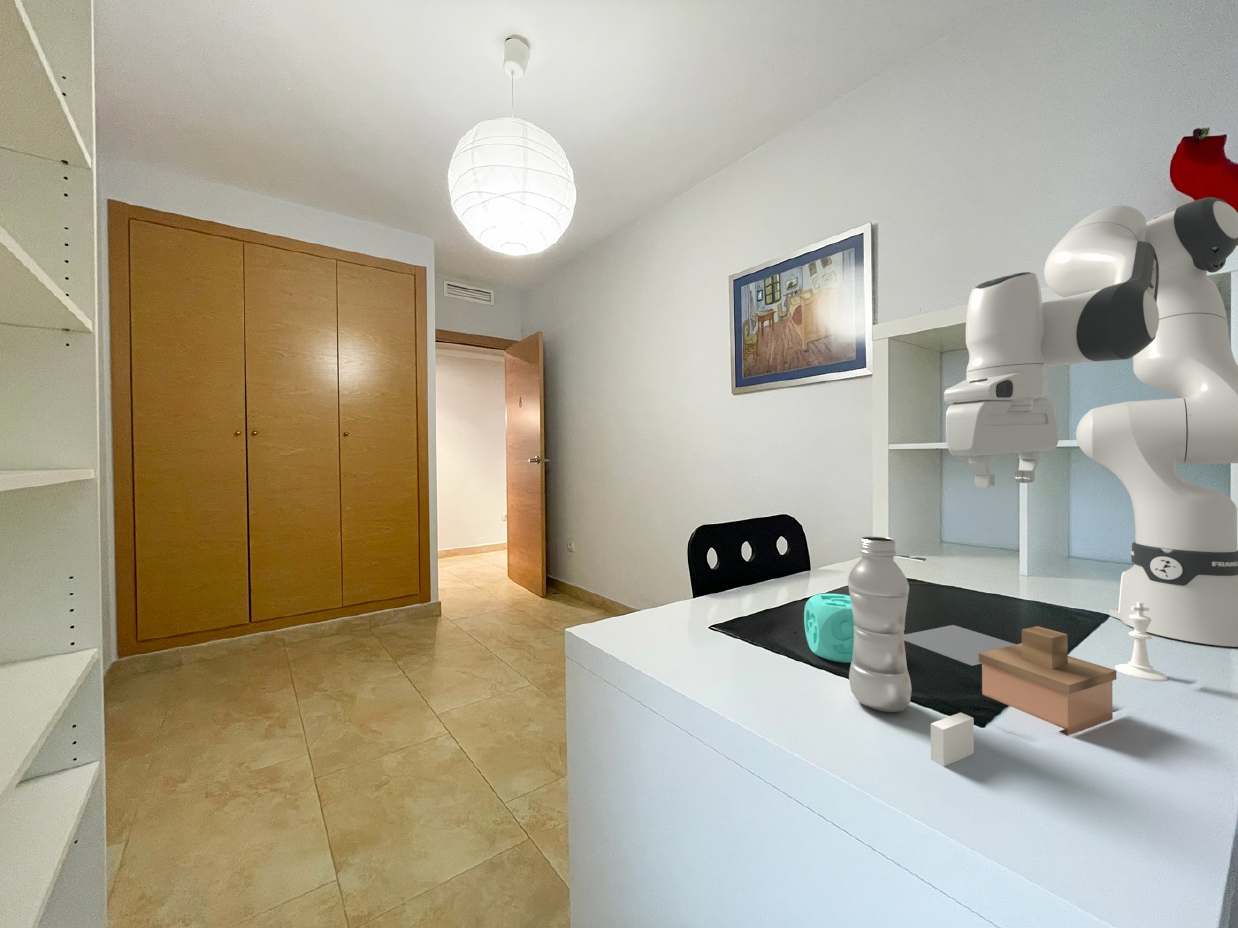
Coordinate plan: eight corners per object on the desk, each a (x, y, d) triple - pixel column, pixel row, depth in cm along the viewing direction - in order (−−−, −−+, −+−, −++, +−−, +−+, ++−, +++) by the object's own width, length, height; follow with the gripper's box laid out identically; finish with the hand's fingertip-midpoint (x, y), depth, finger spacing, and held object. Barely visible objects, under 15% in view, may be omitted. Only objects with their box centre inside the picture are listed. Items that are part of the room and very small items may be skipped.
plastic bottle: (889, 725, 53) (887, 545, 53) (836, 699, 59) (835, 537, 59) (924, 711, 56) (922, 540, 56) (870, 687, 62) (869, 533, 62)
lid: (1024, 650, 62) (1024, 615, 62) (1116, 679, 54) (1116, 639, 54) (978, 661, 59) (978, 625, 59) (1069, 694, 51) (1068, 651, 51)
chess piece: (1180, 687, 61) (1179, 608, 61) (1134, 684, 62) (1133, 607, 62) (1146, 670, 66) (1145, 598, 66) (1104, 667, 67) (1103, 596, 67)
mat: (953, 628, 83) (953, 624, 83) (1034, 653, 72) (1034, 649, 72) (894, 640, 78) (894, 636, 78) (972, 669, 67) (972, 665, 67)
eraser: (930, 760, 47) (930, 722, 47) (960, 747, 49) (960, 711, 49) (943, 767, 46) (943, 729, 46) (973, 754, 48) (974, 717, 48)
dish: (1025, 686, 62) (1025, 651, 62) (1112, 718, 54) (1112, 678, 54) (982, 698, 59) (982, 662, 59) (1067, 735, 51) (1067, 693, 51)
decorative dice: (855, 643, 77) (854, 593, 77) (877, 664, 69) (876, 608, 69) (804, 641, 78) (803, 592, 78) (819, 662, 70) (819, 607, 70)
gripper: (1022, 392, 76) (1023, 479, 77) (935, 391, 69) (937, 488, 69) (1072, 387, 70) (1073, 481, 71) (983, 385, 63) (985, 491, 63)
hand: (1005, 484), depth 70 cm, fingers open, 8 cm apart
